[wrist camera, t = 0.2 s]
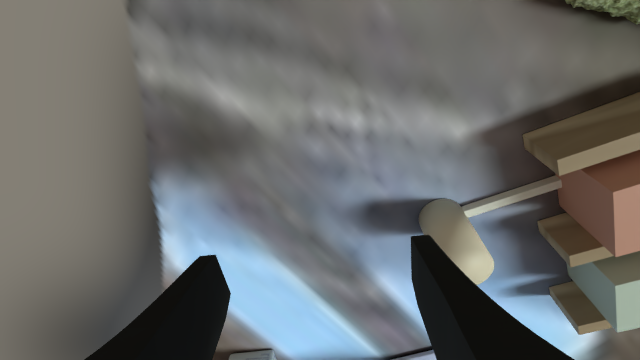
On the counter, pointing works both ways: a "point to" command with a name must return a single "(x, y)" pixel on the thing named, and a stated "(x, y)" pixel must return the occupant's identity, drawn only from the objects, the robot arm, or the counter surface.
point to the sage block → (612, 288)
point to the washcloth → (612, 7)
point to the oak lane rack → (570, 155)
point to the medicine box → (254, 355)
